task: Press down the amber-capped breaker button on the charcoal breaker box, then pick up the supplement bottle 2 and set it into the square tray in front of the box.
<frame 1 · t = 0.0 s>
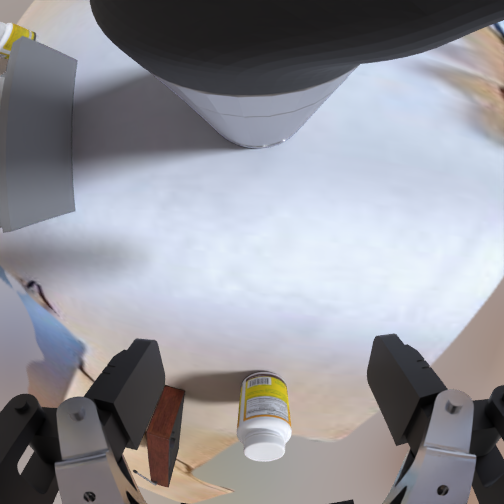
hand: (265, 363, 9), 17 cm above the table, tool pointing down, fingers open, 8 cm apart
supplement bottle: (263, 384, 31), on the table
breaker box: (37, 142, 23), on the table
radio: (174, 417, 34), on the table
supplement bottle 2: (28, 48, 19), on the table
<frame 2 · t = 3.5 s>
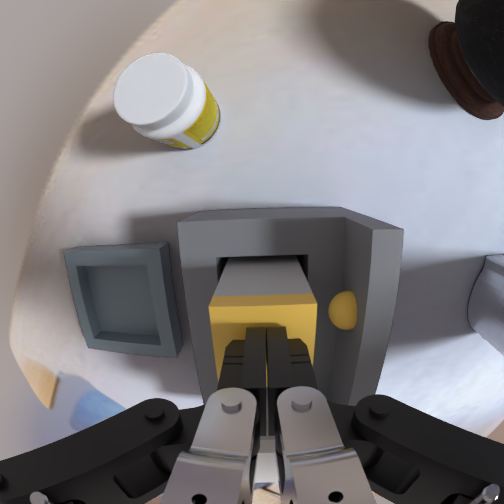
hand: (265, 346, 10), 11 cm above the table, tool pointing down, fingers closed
square tray: (126, 296, 22), on the table
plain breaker: (265, 423, 16), point 8 cm above the table, slide at 0.0 cm
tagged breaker: (263, 307, 14), point 7 cm above the table, slide at 0.3 cm, touching gripper
breaker box: (264, 319, 22), on the table
spherical smart speaker: (469, 69, 16), on the table
supplement bottle 2: (190, 121, 19), on the table
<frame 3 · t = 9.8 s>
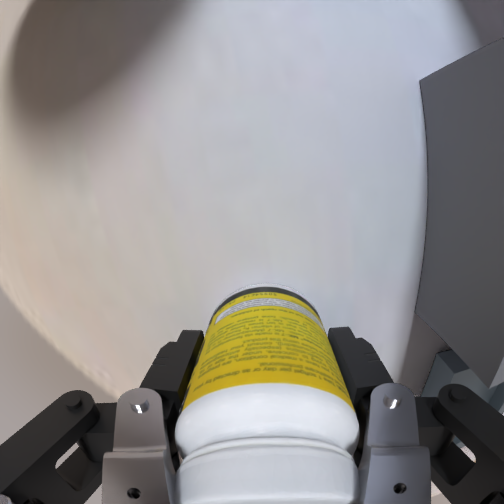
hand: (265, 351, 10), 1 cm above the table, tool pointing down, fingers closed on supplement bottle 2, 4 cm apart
square tray: (465, 394, 13), on the table
supplement bottle 2: (265, 330, 12), on the table, touching gripper
when the fingers open (3 cm above the table, at t = 15.5 s): supplement bottle 2 drops 2 cm, resting on square tray.
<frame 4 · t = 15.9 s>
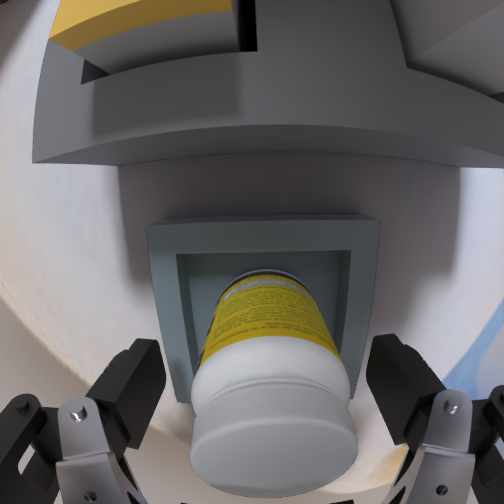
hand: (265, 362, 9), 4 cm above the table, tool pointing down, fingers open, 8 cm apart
square tray: (264, 310, 13), on the table
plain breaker: (476, 10, 3), point 8 cm above the table, slide at 0.0 cm
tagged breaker: (180, 22, 6), point 4 cm above the table, slide at 3.2 cm
breaker box: (300, 63, 10), on the table
supplement bottle 2: (265, 313, 13), resting on square tray
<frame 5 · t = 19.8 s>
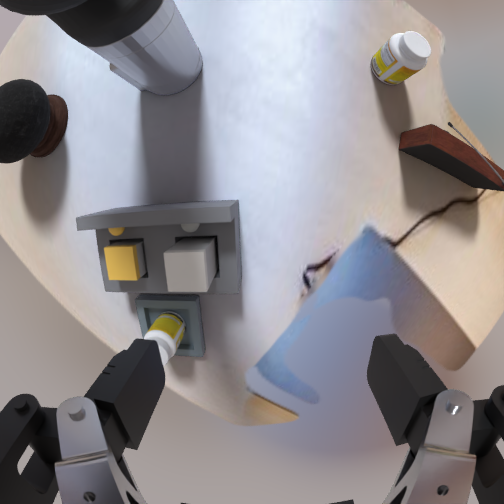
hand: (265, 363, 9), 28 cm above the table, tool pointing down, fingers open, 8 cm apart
square tray: (172, 323, 41), on the table
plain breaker: (194, 261, 30), point 8 cm above the table, slide at 0.0 cm
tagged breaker: (133, 255, 34), point 4 cm above the table, slide at 3.2 cm
supplement bottle: (385, 70, 30), on the table
breaker box: (175, 246, 37), on the table
spherical smart speaker: (46, 125, 33), on the table
radio: (436, 157, 33), on the table
supplement bottle 2: (172, 323, 40), resting on square tray
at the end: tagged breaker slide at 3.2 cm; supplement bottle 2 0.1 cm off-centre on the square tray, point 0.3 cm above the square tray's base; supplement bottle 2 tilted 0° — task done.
